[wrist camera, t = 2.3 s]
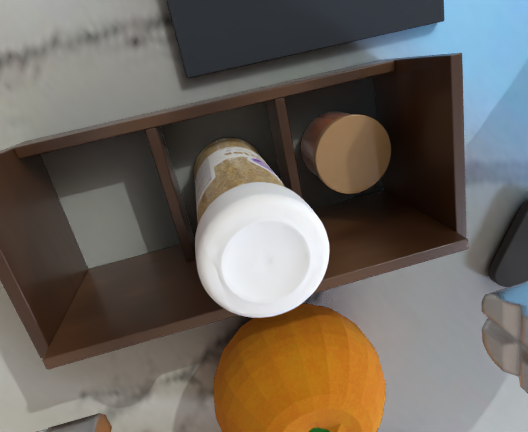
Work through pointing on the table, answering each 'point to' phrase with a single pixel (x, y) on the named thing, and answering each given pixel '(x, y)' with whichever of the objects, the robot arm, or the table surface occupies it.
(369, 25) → the rubber mat
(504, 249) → the phone
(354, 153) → the spice tin
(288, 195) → the sprinkles bottle
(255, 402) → the fruit
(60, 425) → the robot arm
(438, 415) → the table surface
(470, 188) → the table surface
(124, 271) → the spice rack
